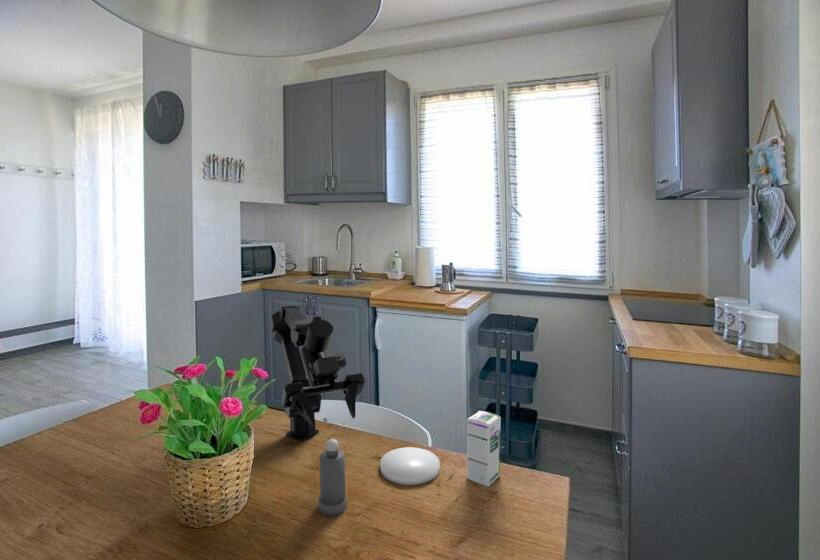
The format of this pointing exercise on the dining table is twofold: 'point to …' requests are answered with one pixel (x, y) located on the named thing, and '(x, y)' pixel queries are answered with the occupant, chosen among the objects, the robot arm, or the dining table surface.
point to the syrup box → (483, 447)
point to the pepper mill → (332, 480)
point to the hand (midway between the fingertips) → (334, 421)
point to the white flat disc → (410, 466)
